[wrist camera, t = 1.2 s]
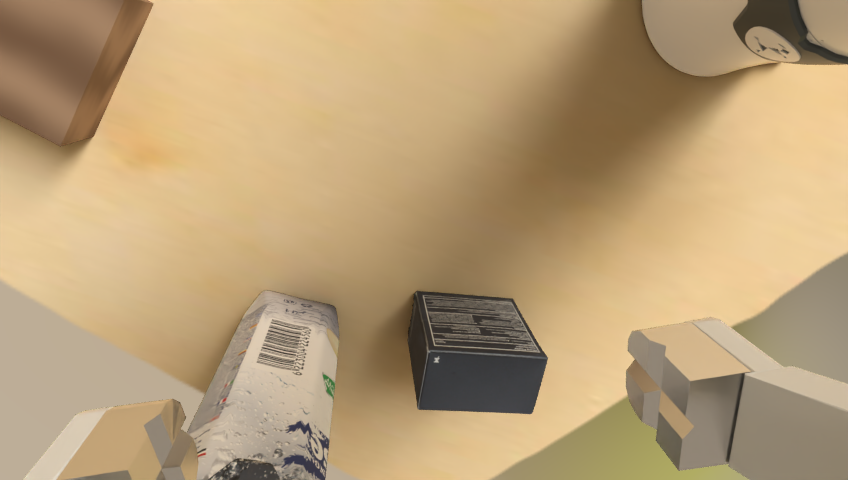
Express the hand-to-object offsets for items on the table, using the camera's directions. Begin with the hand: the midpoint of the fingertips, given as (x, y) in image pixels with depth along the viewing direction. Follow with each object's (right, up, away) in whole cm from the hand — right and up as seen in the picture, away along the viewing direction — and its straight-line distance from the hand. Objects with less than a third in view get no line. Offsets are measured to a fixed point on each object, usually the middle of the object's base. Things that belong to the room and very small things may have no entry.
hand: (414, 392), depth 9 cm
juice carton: (-13, -7, +40) cm, 43 cm away
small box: (+4, -6, +42) cm, 42 cm away
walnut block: (-29, +19, +29) cm, 45 cm away
